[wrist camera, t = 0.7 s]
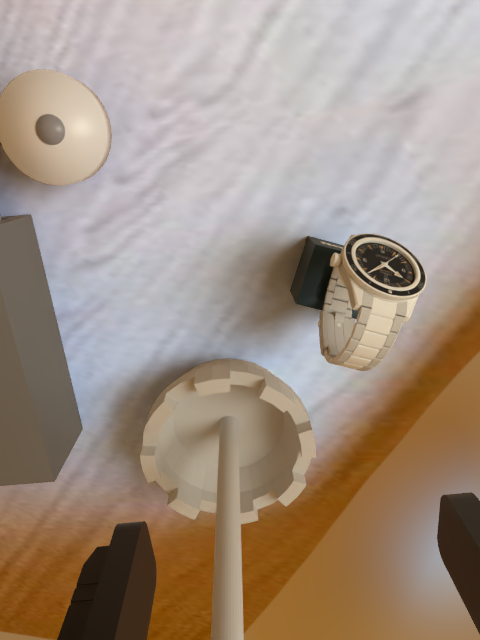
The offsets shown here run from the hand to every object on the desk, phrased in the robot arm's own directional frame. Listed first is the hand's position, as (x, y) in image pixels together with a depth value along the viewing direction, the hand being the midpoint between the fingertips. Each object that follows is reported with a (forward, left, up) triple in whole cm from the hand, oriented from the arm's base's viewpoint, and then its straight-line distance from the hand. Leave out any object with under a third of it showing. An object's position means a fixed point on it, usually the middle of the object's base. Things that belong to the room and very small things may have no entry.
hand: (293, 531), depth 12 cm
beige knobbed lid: (-12, -11, -20) cm, 25 cm away
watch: (-1, +6, -24) cm, 24 cm away
